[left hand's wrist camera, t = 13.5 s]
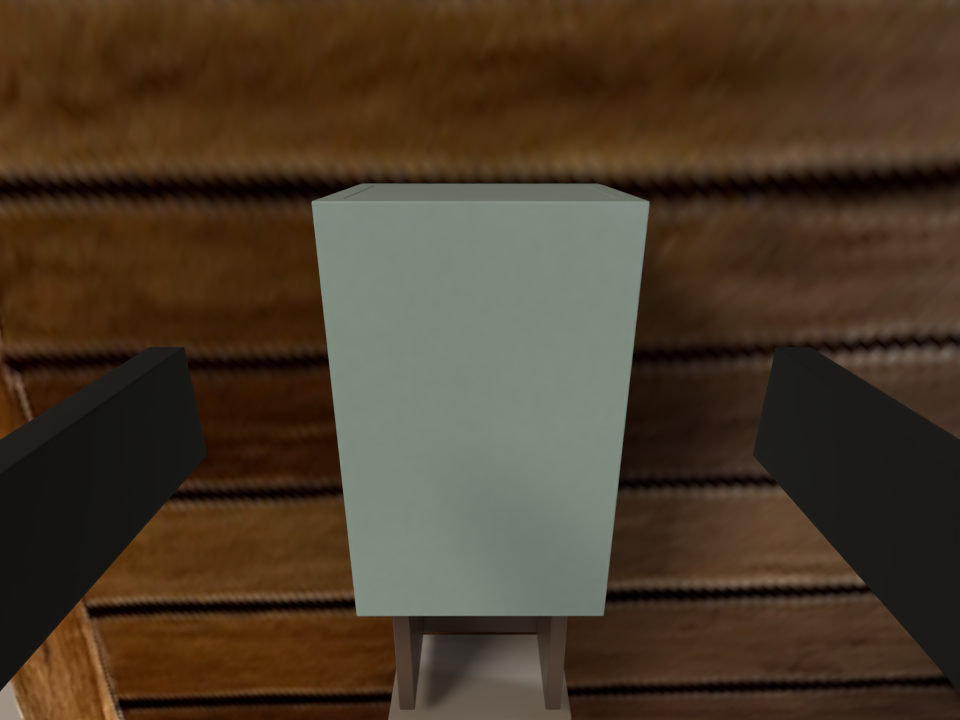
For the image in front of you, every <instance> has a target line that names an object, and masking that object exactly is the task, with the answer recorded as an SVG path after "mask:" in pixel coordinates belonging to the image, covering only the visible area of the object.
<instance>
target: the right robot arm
mask: <svg viewBox="0 0 960 720" xmlns="http://www.w3.org/2000/svg"><path fill="white" fill-rule="evenodd" d="M947 678H948V677H947ZM948 681H949V683H950V684H951V686H952V687H953V689H954V690H955V691H956V692H957V693H958V694H959V696H960V691H959V690H958V689H957V688H956V686H955V685H954V684H953V683H952V682H951V681H950V680H949V678H948Z"/></svg>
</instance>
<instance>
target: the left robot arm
mask: <svg viewBox="0 0 960 720" xmlns="http://www.w3.org/2000/svg"><path fill="white" fill-rule="evenodd" d="M206 455H207V453H206V448H205V443H204V439H203V434H202V429H201V425H200V420H199V415H198V411H197V406H196V401H195V396H194V392H193V387H192V382H191V378H190V373H189V368H188V364H187V359H186V354H185V349H184V347H149V348H148V349H146V350H144V351H143V352H141V353H140V354H138V355H136V356H135V357H133V358H131V359H130V360H128V361H127V362H125V363H123V364H122V365H120V366H119V367H117V368H115V369H114V370H112V371H110V372H109V373H107V374H106V375H104V376H102V377H101V378H99V379H98V380H96V381H94V382H93V383H91V384H89V385H88V386H86V387H85V388H83V389H81V390H80V391H78V392H77V393H75V394H73V395H72V396H70V397H68V398H67V399H65V400H64V401H62V402H60V403H59V404H57V405H56V406H54V407H52V408H51V409H49V410H47V411H46V412H44V413H43V414H41V415H39V416H38V417H36V418H35V419H33V420H31V421H30V422H28V423H26V424H25V425H23V426H22V427H20V428H18V429H17V430H15V431H14V432H12V433H10V434H9V435H7V436H5V437H4V438H2V439H1V440H0V691H1V690H2V689H3V688H4V686H5V685H6V684H7V683H8V682H9V681H10V680H11V678H12V677H13V676H14V675H15V674H16V673H17V672H18V670H19V669H20V668H21V667H22V666H23V665H24V664H25V662H26V661H27V660H28V659H29V658H30V657H31V656H32V654H33V653H34V652H35V651H36V650H37V649H38V648H39V646H40V645H41V644H42V643H43V642H44V641H45V640H46V638H47V637H48V636H49V635H50V634H51V633H52V632H53V630H54V629H55V628H56V627H57V626H58V625H59V624H60V622H61V621H62V620H63V619H64V618H65V617H66V616H67V614H68V613H69V612H70V611H71V610H72V609H73V608H74V606H75V605H76V604H77V603H78V602H79V601H80V600H81V598H82V597H83V596H84V595H85V594H86V593H87V592H88V590H89V589H90V588H91V587H92V586H93V585H94V583H95V582H96V581H97V580H98V579H99V578H100V577H101V575H102V574H103V573H104V572H105V571H106V570H107V569H108V567H109V566H110V565H111V564H112V563H113V562H114V561H115V559H116V558H117V557H118V556H119V555H120V554H121V553H122V551H123V550H124V549H125V548H126V547H127V546H128V545H129V543H130V542H131V541H132V540H133V539H134V538H135V537H136V535H137V534H138V533H139V532H140V531H141V530H142V529H143V527H144V526H145V525H146V524H147V523H148V522H149V521H150V519H151V518H152V517H153V516H154V515H155V514H156V513H157V511H158V510H159V509H160V508H161V507H162V506H163V505H164V503H165V502H166V501H167V500H168V499H169V498H170V497H171V495H172V494H173V493H174V492H175V491H176V490H177V489H178V487H179V486H180V485H181V484H182V483H183V482H184V481H185V479H186V478H187V477H188V476H189V475H190V474H191V473H192V471H193V470H194V469H195V468H196V467H197V466H198V465H199V463H200V462H201V461H202V460H203V459H204V458H205V457H206ZM753 455H754V457H755V458H756V459H757V460H758V461H759V462H760V463H761V465H762V466H763V467H764V468H765V469H766V470H767V471H768V473H769V474H770V475H771V476H772V477H773V478H774V479H775V481H776V482H777V483H778V484H779V485H780V486H781V487H782V489H783V490H784V491H785V492H786V493H787V494H788V495H789V497H790V498H791V499H792V500H793V501H794V502H795V503H796V505H797V506H798V507H799V508H800V509H801V510H802V511H803V513H804V514H805V515H806V516H807V517H808V518H809V519H810V521H811V522H812V523H813V524H814V525H815V526H816V527H817V529H818V530H819V531H820V532H821V533H822V534H823V535H824V537H825V538H826V539H827V540H828V541H829V542H830V543H831V545H832V546H833V547H834V548H835V549H836V550H837V551H838V553H839V554H840V555H841V556H842V557H843V558H844V559H845V561H846V562H847V563H848V564H849V565H850V566H851V567H852V569H853V570H854V571H855V572H856V573H857V574H858V575H859V577H860V578H861V579H862V580H863V581H864V582H865V584H866V585H867V586H868V587H869V588H870V589H871V590H872V592H873V593H874V594H875V595H876V596H877V597H878V598H879V600H880V601H881V602H882V603H883V604H884V605H885V606H886V608H887V609H888V610H889V611H890V612H891V613H892V614H893V616H894V617H895V618H896V619H897V620H898V621H899V622H900V624H901V625H902V626H903V627H904V628H905V629H906V630H907V632H908V633H909V634H910V635H911V636H912V637H913V638H914V640H915V641H916V642H917V643H918V644H919V645H920V646H921V648H922V649H923V650H924V651H925V652H926V653H927V654H928V656H929V657H930V658H931V659H932V660H933V661H934V662H935V664H936V665H937V666H938V667H939V668H940V669H941V670H942V672H943V673H944V674H945V675H946V676H947V677H948V678H949V680H950V681H951V682H952V683H953V684H954V685H955V686H956V688H957V689H958V690H959V691H960V440H959V439H958V438H956V437H955V436H953V435H951V434H950V433H948V432H946V431H945V430H943V429H942V428H940V427H938V426H937V425H935V424H934V423H932V422H930V421H929V420H927V419H925V418H924V417H922V416H921V415H919V414H917V413H916V412H914V411H913V410H911V409H909V408H908V407H906V406H904V405H903V404H901V403H900V402H898V401H896V400H895V399H893V398H892V397H890V396H888V395H887V394H885V393H883V392H882V391H880V390H879V389H877V388H875V387H874V386H872V385H871V384H869V383H867V382H866V381H864V380H862V379H861V378H859V377H858V376H856V375H854V374H853V373H851V372H850V371H848V370H846V369H845V368H843V367H841V366H840V365H838V364H837V363H835V362H833V361H832V360H830V359H829V358H827V357H825V356H824V355H822V354H820V353H819V352H817V351H816V350H814V349H812V348H811V347H776V349H775V354H774V359H773V364H772V368H771V373H770V378H769V382H768V387H767V392H766V396H765V401H764V406H763V411H762V415H761V420H760V425H759V429H758V434H757V439H756V443H755V448H754V453H753Z"/></svg>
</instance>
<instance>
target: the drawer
mask: <svg viewBox="0 0 960 720" xmlns="http://www.w3.org/2000/svg"><path fill="white" fill-rule="evenodd" d="M392 618H393V631H394V644H395V657H396V675H395V681H394V688H393V694H392V700H391V707H390V713H389V719H388V720H572V718H571V712H570V705H569V699H568V693H567V686H566V680H565V674H564V661H565V648H566V636H567V623H568V616H392ZM424 632H537V635H423V634H424Z"/></svg>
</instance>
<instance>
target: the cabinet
mask: <svg viewBox="0 0 960 720" xmlns="http://www.w3.org/2000/svg"><path fill="white" fill-rule="evenodd" d="M649 204H650V203H649V201H646V200H643V199H641V198H638V197H635V196H632V195H629V194H626V193H624V192H621V191H618V190H615V189H612V188H609V187H606V186H604V185H600V184H360V185H357V186H354V187H352V188H349V189H346V190H343V191H340V192H338V193H335V194H332V195H329V196H326V197H323V198H321V199H317V200H315V201H312V210H313V219H314V228H315V237H316V247H317V256H318V265H319V274H320V283H321V292H322V301H323V311H324V320H325V329H326V338H327V347H328V356H329V365H330V375H331V384H332V393H333V402H334V411H335V420H336V429H337V438H338V448H339V457H340V466H341V475H342V484H343V493H344V502H345V512H346V521H347V530H348V539H349V548H350V557H351V566H352V576H353V585H354V594H355V603H356V612H357V616H603V615H604V608H605V599H606V590H607V581H608V572H609V563H610V554H611V545H612V536H613V527H614V518H615V509H616V500H617V491H618V482H619V473H620V464H621V455H622V446H623V437H624V428H625V419H626V410H627V401H628V392H629V383H630V374H631V365H632V356H633V347H634V338H635V330H636V321H637V312H638V303H639V294H640V285H641V276H642V267H643V258H644V249H645V240H646V231H647V222H648V213H649Z"/></svg>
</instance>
